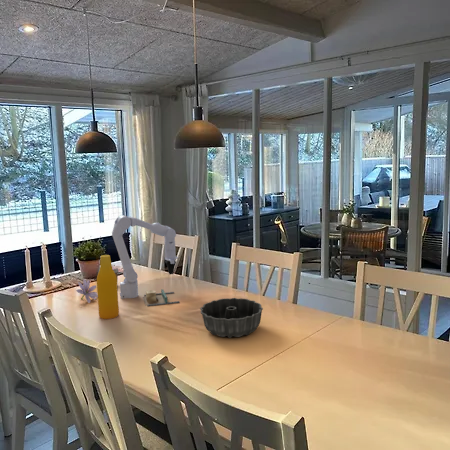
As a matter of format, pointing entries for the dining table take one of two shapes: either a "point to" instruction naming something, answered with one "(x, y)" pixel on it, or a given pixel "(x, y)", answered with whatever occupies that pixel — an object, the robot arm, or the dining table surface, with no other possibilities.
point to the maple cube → (151, 296)
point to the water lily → (87, 290)
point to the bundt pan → (231, 316)
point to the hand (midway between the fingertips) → (171, 273)
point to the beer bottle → (107, 289)
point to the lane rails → (163, 303)
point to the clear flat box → (157, 299)
